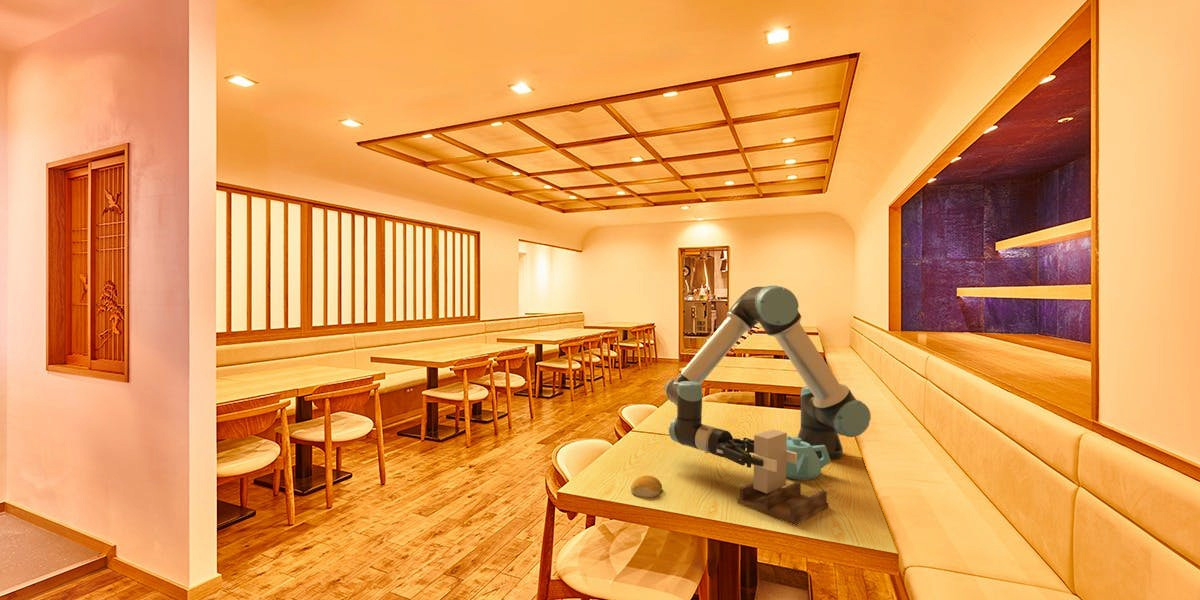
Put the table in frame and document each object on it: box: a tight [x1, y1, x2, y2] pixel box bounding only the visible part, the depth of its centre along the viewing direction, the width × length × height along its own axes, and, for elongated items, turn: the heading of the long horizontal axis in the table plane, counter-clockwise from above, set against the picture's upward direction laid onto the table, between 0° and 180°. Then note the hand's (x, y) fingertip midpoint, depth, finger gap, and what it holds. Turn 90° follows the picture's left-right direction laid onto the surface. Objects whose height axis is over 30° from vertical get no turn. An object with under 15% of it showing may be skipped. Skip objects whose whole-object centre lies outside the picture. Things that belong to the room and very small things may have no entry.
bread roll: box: [630, 474, 663, 498], centre depth 132 cm, size 8×9×4 cm
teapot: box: [786, 435, 832, 481], centre depth 146 cm, size 15×15×11 cm
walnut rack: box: [737, 481, 829, 526], centre depth 124 cm, size 16×16×4 cm
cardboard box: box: [752, 429, 788, 493], centre depth 126 cm, size 9×4×14 cm, turn 129°
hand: (786, 462), depth 123 cm, fingers closed on cardboard box, 9 cm apart
